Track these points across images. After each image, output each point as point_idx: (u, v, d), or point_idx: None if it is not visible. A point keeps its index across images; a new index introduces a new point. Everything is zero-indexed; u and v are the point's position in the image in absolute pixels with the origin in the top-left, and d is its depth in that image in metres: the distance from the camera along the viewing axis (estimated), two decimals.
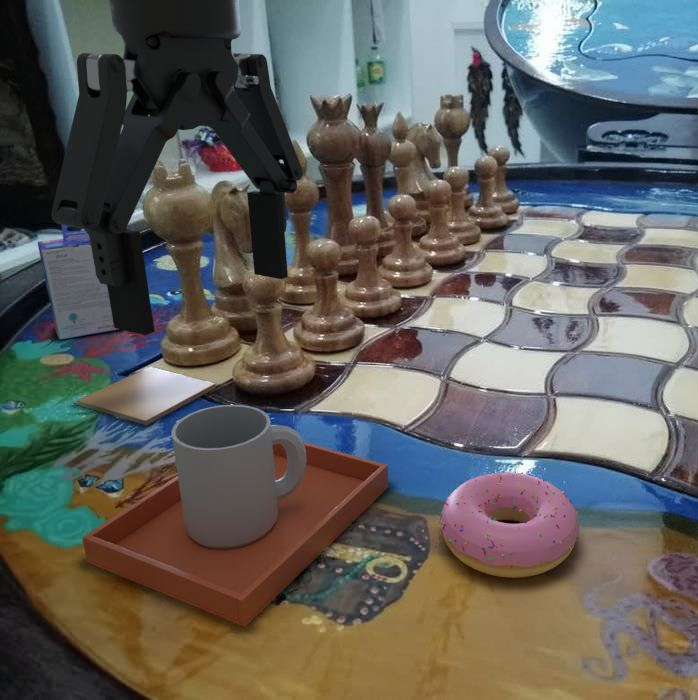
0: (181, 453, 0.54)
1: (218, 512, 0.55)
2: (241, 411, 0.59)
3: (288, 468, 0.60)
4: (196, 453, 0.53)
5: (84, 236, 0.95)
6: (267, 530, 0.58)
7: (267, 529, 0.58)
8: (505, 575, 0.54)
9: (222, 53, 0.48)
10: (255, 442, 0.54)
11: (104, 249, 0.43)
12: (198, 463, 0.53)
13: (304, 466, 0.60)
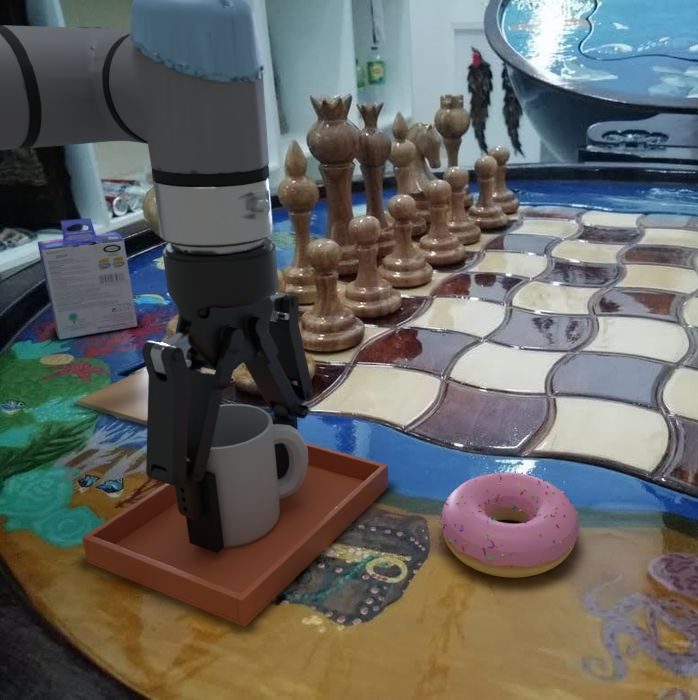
0: None
1: (220, 510, 0.55)
2: (243, 410, 0.59)
3: (290, 467, 0.60)
4: None
5: (84, 236, 0.95)
6: (269, 529, 0.58)
7: (269, 528, 0.58)
8: (505, 575, 0.54)
9: None
10: (257, 441, 0.55)
11: (187, 493, 0.52)
12: None
13: (306, 466, 0.60)
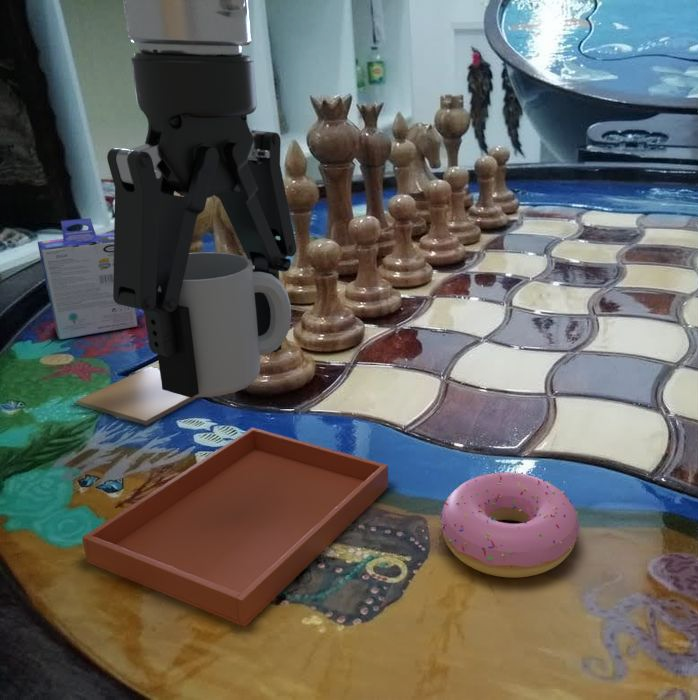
0: None
1: (195, 353, 0.52)
2: (222, 259, 0.56)
3: (271, 322, 0.57)
4: None
5: (84, 236, 0.95)
6: (248, 382, 0.55)
7: (248, 380, 0.55)
8: (505, 575, 0.54)
9: (238, 124, 0.51)
10: (235, 278, 0.51)
11: (158, 325, 0.49)
12: None
13: (289, 321, 0.57)
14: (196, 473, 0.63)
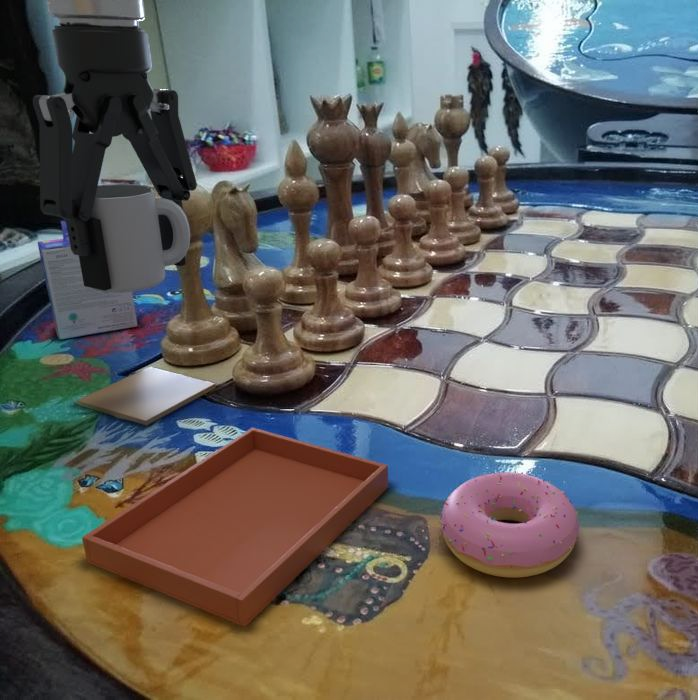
0: None
1: (108, 256, 0.67)
2: (134, 189, 0.72)
3: (174, 239, 0.73)
4: None
5: None
6: (153, 283, 0.71)
7: (153, 282, 0.71)
8: (505, 575, 0.54)
9: (139, 81, 0.67)
10: (137, 199, 0.67)
11: (75, 231, 0.65)
12: None
13: (187, 238, 0.73)
14: (196, 473, 0.63)
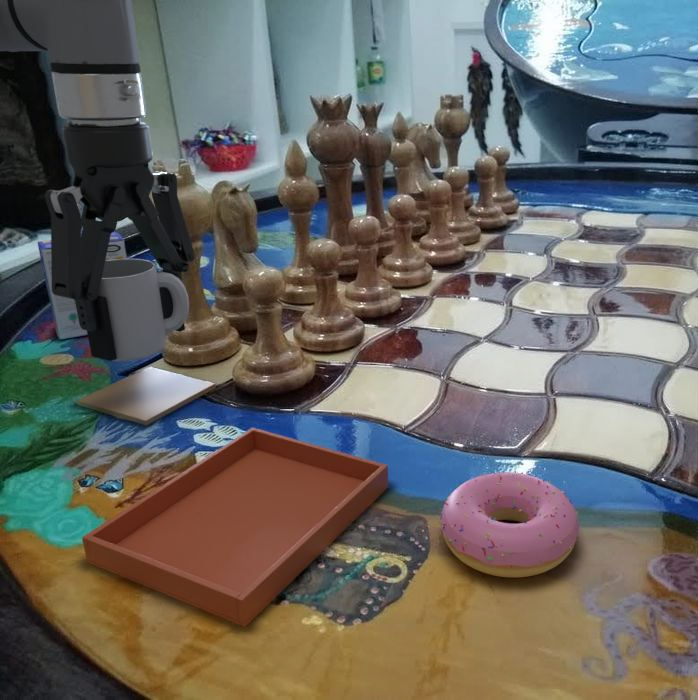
0: None
1: (113, 329, 0.73)
2: (137, 263, 0.78)
3: (174, 308, 0.79)
4: None
5: None
6: (155, 351, 0.77)
7: (155, 350, 0.76)
8: (505, 575, 0.54)
9: (141, 169, 0.73)
10: (140, 276, 0.73)
11: (84, 309, 0.71)
12: None
13: (186, 307, 0.79)
14: (196, 473, 0.63)
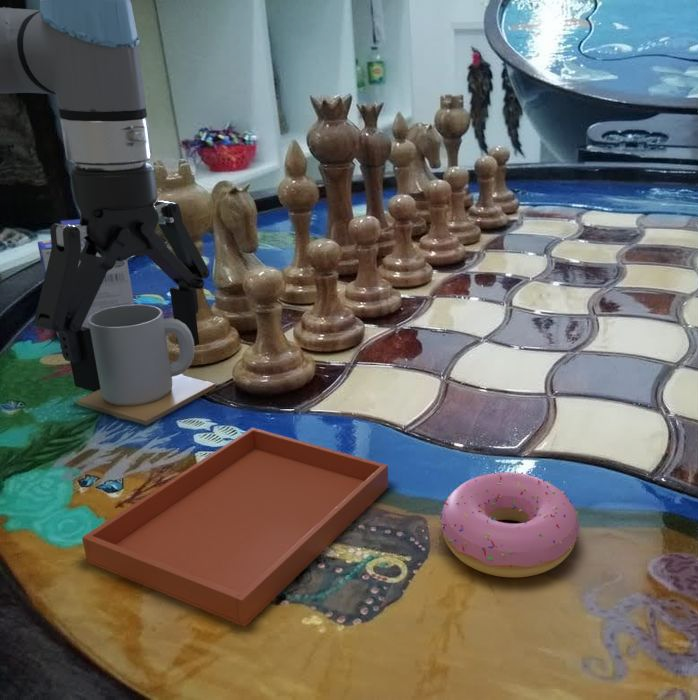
0: (93, 331, 0.74)
1: (121, 376, 0.75)
2: (144, 309, 0.80)
3: (180, 352, 0.81)
4: (103, 330, 0.74)
5: None
6: (161, 395, 0.79)
7: (161, 394, 0.78)
8: (505, 575, 0.54)
9: (146, 209, 0.74)
10: (147, 325, 0.75)
11: (67, 341, 0.70)
12: (105, 338, 0.74)
13: (192, 351, 0.81)
14: (196, 473, 0.63)
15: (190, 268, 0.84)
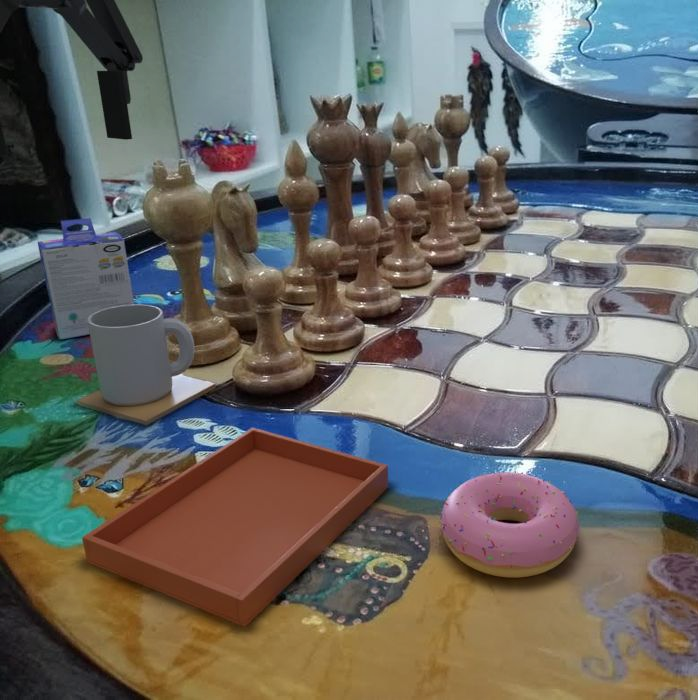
0: (93, 331, 0.74)
1: (121, 376, 0.75)
2: (144, 309, 0.80)
3: (180, 352, 0.81)
4: (103, 330, 0.74)
5: (84, 236, 0.95)
6: (161, 395, 0.79)
7: (161, 394, 0.78)
8: (505, 575, 0.54)
9: None
10: (147, 325, 0.75)
11: None
12: (105, 338, 0.74)
13: (192, 351, 0.81)
14: (196, 473, 0.63)
15: (120, 52, 0.75)
